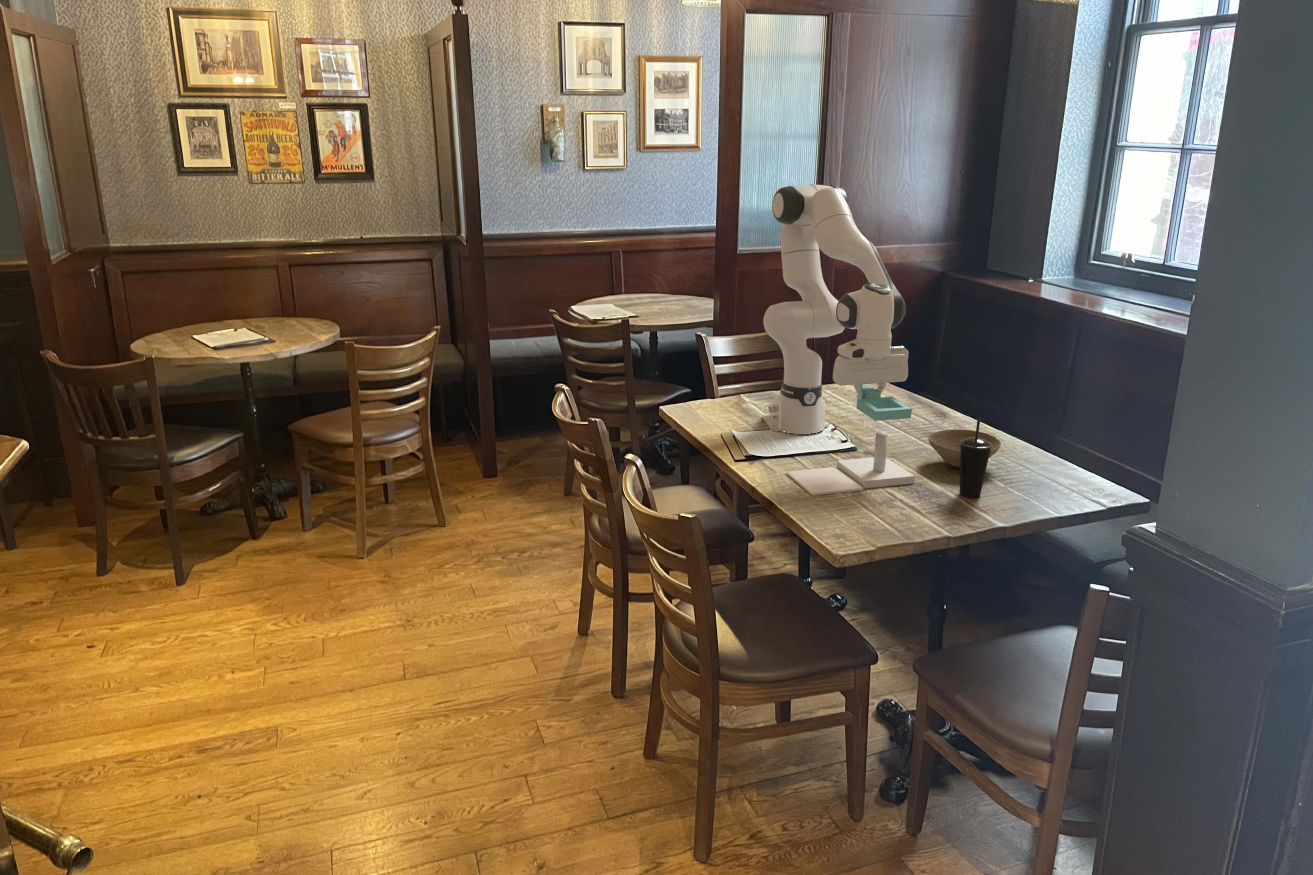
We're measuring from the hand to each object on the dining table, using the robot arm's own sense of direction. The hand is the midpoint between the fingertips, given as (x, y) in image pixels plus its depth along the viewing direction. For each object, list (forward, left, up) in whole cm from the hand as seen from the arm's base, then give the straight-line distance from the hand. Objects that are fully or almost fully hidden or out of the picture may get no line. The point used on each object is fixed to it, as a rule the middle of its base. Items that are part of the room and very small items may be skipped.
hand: (868, 399), depth 241 cm
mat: (+7, -15, -19) cm, 25 cm away
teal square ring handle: (+5, 0, -1) cm, 5 cm away
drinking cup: (+25, +16, -19) cm, 36 cm away
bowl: (+6, +26, -19) cm, 33 cm away
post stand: (+6, 0, -19) cm, 20 cm away
